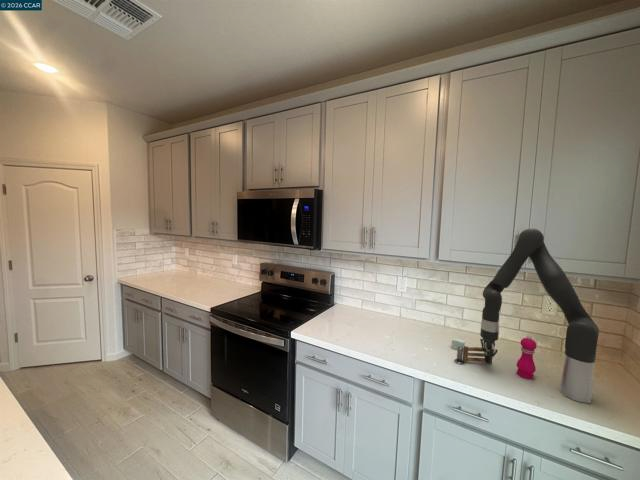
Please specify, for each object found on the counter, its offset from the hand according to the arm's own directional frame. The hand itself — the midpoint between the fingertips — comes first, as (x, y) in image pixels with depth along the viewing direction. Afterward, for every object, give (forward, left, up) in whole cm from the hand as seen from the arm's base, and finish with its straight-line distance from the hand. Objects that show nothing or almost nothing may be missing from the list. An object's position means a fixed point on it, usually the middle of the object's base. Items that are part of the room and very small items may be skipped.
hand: (487, 362), depth 135 cm
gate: (+5, -2, -3) cm, 6 cm away
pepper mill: (-15, -5, -3) cm, 16 cm away
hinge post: (+12, +3, -3) cm, 13 cm away
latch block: (+16, -12, -3) cm, 20 cm away
